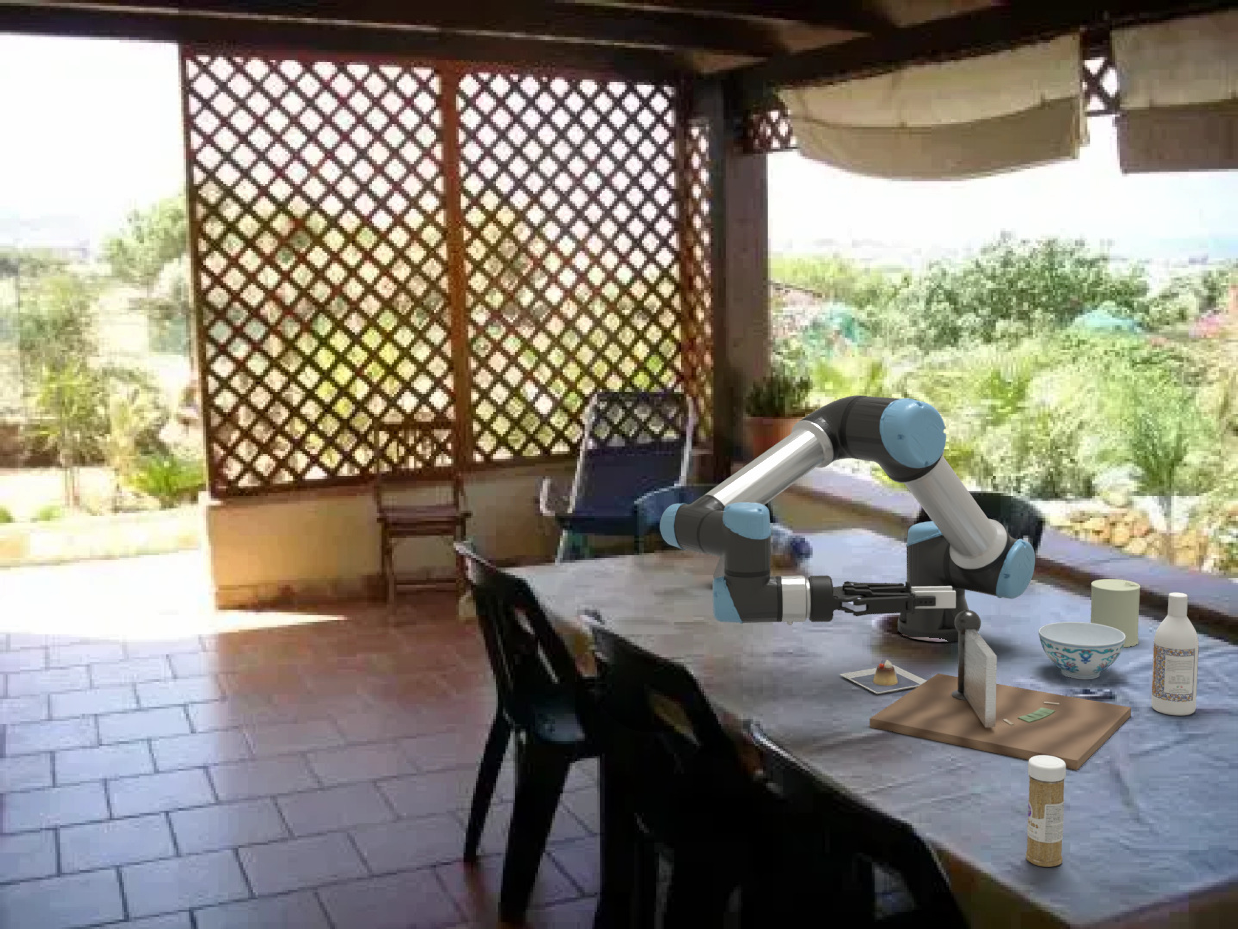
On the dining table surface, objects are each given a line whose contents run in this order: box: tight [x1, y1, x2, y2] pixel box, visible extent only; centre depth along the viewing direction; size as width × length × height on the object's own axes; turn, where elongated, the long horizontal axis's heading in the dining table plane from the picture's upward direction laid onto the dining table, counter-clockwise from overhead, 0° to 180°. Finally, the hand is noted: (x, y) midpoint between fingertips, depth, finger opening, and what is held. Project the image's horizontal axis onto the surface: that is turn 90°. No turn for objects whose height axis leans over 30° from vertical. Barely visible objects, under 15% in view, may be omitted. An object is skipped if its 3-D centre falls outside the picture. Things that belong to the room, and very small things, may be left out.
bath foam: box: [1150, 592, 1200, 716], centre depth 221 cm, size 7×7×20 cm
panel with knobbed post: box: [954, 609, 998, 727], centre depth 219 cm, size 20×4×14 cm, turn 177°
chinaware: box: [1038, 621, 1125, 680], centre depth 242 cm, size 15×15×8 cm
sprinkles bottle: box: [1025, 755, 1067, 868], centre depth 168 cm, size 5×5×13 cm
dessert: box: [839, 659, 927, 695], centre depth 240 cm, size 12×12×5 cm
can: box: [1090, 578, 1141, 648], centre depth 261 cm, size 9×9×12 cm
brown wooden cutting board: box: [869, 673, 1132, 771], centre depth 219 cm, size 34×28×2 cm
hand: (953, 597), depth 214 cm, fingers open, 2 cm apart
